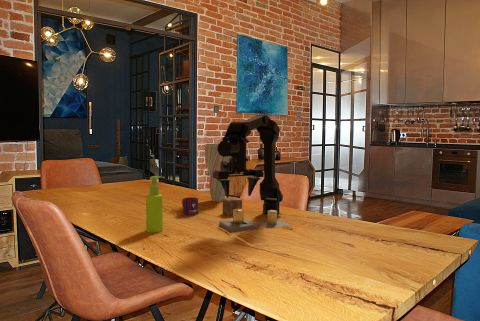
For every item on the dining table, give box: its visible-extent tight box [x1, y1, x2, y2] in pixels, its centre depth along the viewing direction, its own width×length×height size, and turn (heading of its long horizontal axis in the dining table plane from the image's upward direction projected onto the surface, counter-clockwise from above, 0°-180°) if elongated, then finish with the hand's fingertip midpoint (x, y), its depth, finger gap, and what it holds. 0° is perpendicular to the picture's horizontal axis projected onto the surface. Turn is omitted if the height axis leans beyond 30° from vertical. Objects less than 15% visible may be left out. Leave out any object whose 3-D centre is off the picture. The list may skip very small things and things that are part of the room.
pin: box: [232, 208, 245, 225], centre depth 146 cm, size 4×4×7 cm
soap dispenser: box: [145, 175, 164, 234], centre depth 142 cm, size 6×7×20 cm
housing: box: [222, 196, 243, 217], centre depth 169 cm, size 6×6×7 cm
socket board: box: [218, 218, 259, 234], centre depth 146 cm, size 11×11×2 cm
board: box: [253, 210, 292, 229], centre depth 151 cm, size 11×11×6 cm
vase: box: [204, 142, 231, 203], centre depth 203 cm, size 14×14×30 cm
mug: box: [181, 196, 199, 216], centre depth 172 cm, size 7×10×7 cm
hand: (238, 196), depth 145 cm, fingers open, 9 cm apart
